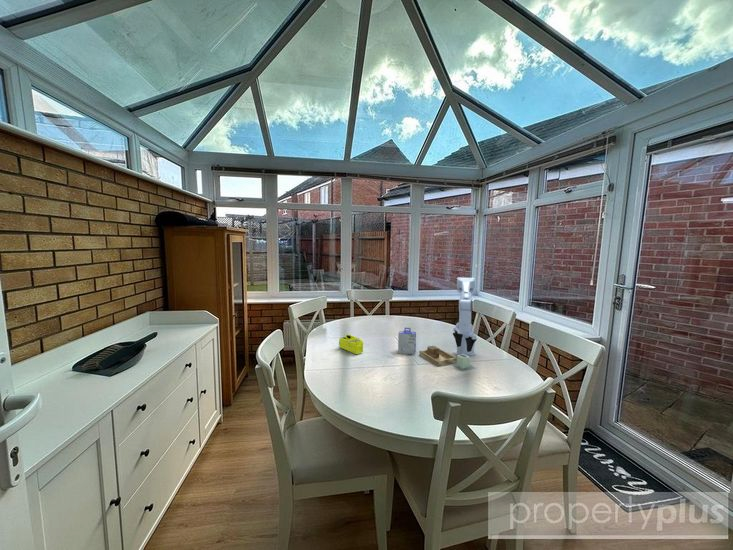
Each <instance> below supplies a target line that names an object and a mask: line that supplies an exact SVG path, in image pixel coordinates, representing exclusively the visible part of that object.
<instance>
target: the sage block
mask: <svg viewBox="0 0 733 550" xmlns="http://www.w3.org/2000/svg"><path fill="white" fill-rule="evenodd" d="M456 358H457V366H458V367H460V368H462V369H465V368H469V367H470V365H471V361H470V359H471V357H470V355H465V354H461V355H459V354H456Z"/></svg>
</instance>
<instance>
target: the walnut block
mask: <svg viewBox="0 0 733 550" xmlns="http://www.w3.org/2000/svg"><path fill="white" fill-rule="evenodd" d="M439 349H440V348H439V347H437V346H435V345H429V346H427V348H426V350H427V355H429V356H430V357H432V358H437V357H439Z"/></svg>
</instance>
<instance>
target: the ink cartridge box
mask: <svg viewBox="0 0 733 550" xmlns="http://www.w3.org/2000/svg"><path fill="white" fill-rule="evenodd" d="M411 330H412V329H411V327H404V329H403V330H399V332H398V336H397V340H398V341H397V353H398V354H399V353H400V354H405V355H406V354H407V355H409V354H410V355H415V354H416V351H417V349H416V348H417V332H416V331H411Z"/></svg>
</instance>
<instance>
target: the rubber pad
mask: <svg viewBox="0 0 733 550" xmlns="http://www.w3.org/2000/svg"><path fill="white" fill-rule="evenodd" d="M449 365H450V366H452V367H454V368H456V369H457V370H459V371H461V372H467V371H470V370H471V371H472V370H475V369H477V367H475V366H473V365H471V364H470V367H469V368H465V369H462V368H460V367H458V366H457V363H452V364H449Z"/></svg>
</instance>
